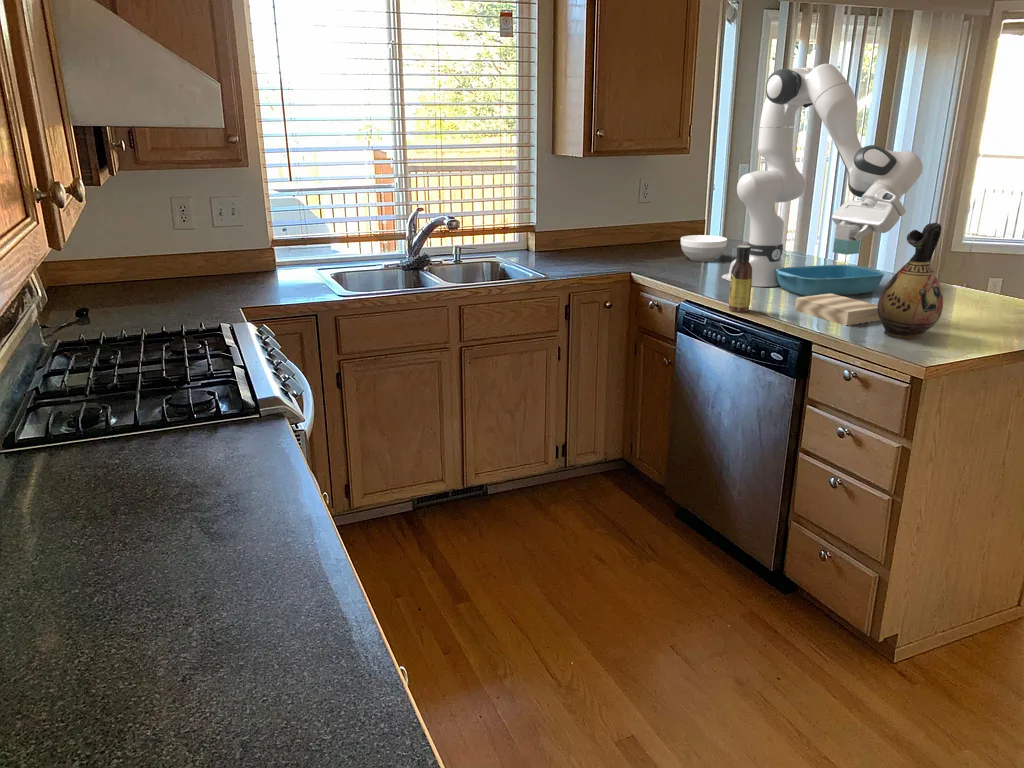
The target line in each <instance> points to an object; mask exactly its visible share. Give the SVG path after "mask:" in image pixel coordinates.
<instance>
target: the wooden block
mask: <svg viewBox="0 0 1024 768" xmlns="http://www.w3.org/2000/svg"><path fill="white" fill-rule="evenodd" d="M877 308H878V304H874V303H870V302H866V301H862V300H859V299H854V298H850V297H846V296H844V295H835V294H831V293H829V294H821V295H814V296H800V297H796V298H795V306H794V311H795V310H796V311H795V312H798V311H799V313H801V312H802V314H805V313H806V314H805V315H808V314H809V316H811V315H812V316H811V317H815V318H818V317H819V318H818V319H821V320H825V319H826V321H829V320H830V322H832V321H833V322H832V323H835V322H837V324H839V323H840V325H842V324H844V325H843V326H846V325H848V326H852V325H853V324H854V325H859V323H861V324H866V323H865V322H867V323H872V322H871V321H873V322H878V321H877V320H880V319H879V316H878V310H877Z"/></svg>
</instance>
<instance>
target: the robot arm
mask: <svg viewBox="0 0 1024 768" xmlns="http://www.w3.org/2000/svg"><path fill="white" fill-rule="evenodd" d="M765 95H766V98H765V100H764V103H763V106H762V109H761V110H762V111H761V114H760V121H759V128H758V129H759V132H758V140H757V141H758V142H757V152H758V154H759V156H761V157H762V158H764V160H765V163H766V166H767V168H766V169H767V170H755V171H751V172H749V173H745V174H743V175H742V176H741V177H740V178H739V180H738V182H737V184H736V193H737V196H738V198H739V200H740V201H741V202H742V203H744V205H745V207H746V209H747V211H748V215H749V223H750V225H749V239H748V240H749V241H748V242H747V243H743V244H742V245H748V246H751V250H750V255H749V263H750V264H751V266H752V284H751V287H765V288H767V287H768V288H769V287H780V284H779V282H778V278H777V273H776V269H778V268H783V266H782V265H783V263H782V255H783V251H784V244H783V238H784V229H785V228H784V227H785V223H784V219H783V218H782V217H780V216H779V215H778V214H777V212H776V207H775V204H777V203H788V202H791V201H794V200H796V199H799V198H800V197H801V196H802V195H803V194H804V191H805V188H806V181H805V177H804V175H803V173H801V172H800V171H799V170H798V168H797V165H796V163H795V158H794V153H793V149H794V148H793V147H794V146H793V145H794V133H795V123H796V114H797V111H798V109H800V107H803V108H805V109H806V108H809V107H811V106H813V107H814V109H815V111H816V113H817V115H818V116H819V117H820V119H821V121H822V123H823V125H824V126H825V128H826V130H827V131H828V133H829V135H830V138H831V139H832V141H833V144H834V145H835V147H836V149H837V152H838V155H839V156H840V159H841V160H842V162H843V165H844V167H845V169H846V172H847V176H848V178H847V181H848V182H847V185H848V189H849V191H850V193H851V194H852V195H854V196H855V197H856V198H853V199H850V200H848V201H847V200H846V201H845V202H844V203H843V204H841V206H839V208H837V209H836V210H835V211H834V212H833V213H832V215H831V220H832V221H833V222H834V223H835V225H836V224H848V223H850V224H857V225H863V227H862V228H863V229H862V230H860V231H859V232H855V233H854V235H852V238H853V240H855V241H859V240H860V239H861V240H862V238H863V237H865V236H867V235H869V234H871V232H874V233H875V232H876V233H881V234H885V233H888V232H889V231H891V230H892V229H893V228H894V226H895V225H896V224H897V223H898V222H899V220H900V218H901V217H902V216H904V215H905V214H906V213H907V211H906V209H905V207H904V205H903V203H902V202H901V198H902V197H903V195H905V194H907V193H908V192H909V191H910V189H911V188H913V186H914V185H915V184H916V183H917V181H918V179H919V178H920V177H921V175H922V174H923V168H924V167H923V166H924V165H923V162H922V160H921V158H920V157H919V156H918V154H916V153H914V152H913V151H910V150H903V151H893V150H889V149H885V148H883V147H882V146H880V145H876V144H874V145H873V144H871V145H866V146H864V147H863V146H862V144H861V142H860V139H859V137H858V131H857V126H858V125H857V122H858V103H857V102H858V101H857V97H856V95H855V93H854V91H853V88H852V87H851V85H850V84H849V82H848V81H847V79H846V78H845V77H844V75H843V74H842V73H841V72H840V70H839V69H838V68H837V67H836V66H835V65H833V64H832V63H823V64H822V63H821V64H819V65H817V66H815V67H814V68H813V67H812V68H811V67H798V68H796V67H795V68H782V69H778V70H776V71H775V70H774V71H773V72H772V73H771V74H770V75H769V76H768V78H767V80H766V83H765ZM857 197H858V198H857ZM735 262H736V258H735V259H734V260H732V262H730V265H729V270H728V273H724V274H723V275H722V276H721V279H723V280H725V281H728V282H730V280H731V271H732V269H733V266H734V264H735Z"/></svg>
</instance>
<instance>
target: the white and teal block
mask: <svg viewBox="0 0 1024 768" xmlns="http://www.w3.org/2000/svg"><path fill="white" fill-rule="evenodd" d="M862 227H863V225H857V224H850V223H848V224H835V231H834V232H835V233H834V241H833V247H832V253H835V254H840V255H847V256H848V255H856V254H857V255H858V254H860V250H861V249H860V248H861V243H862V238H861V239H860V240H859V241H855V240H853V238H852V235H854V233H855V232H859V231H860V230H862V229H863V228H862Z"/></svg>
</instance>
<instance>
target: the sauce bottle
mask: <svg viewBox="0 0 1024 768" xmlns="http://www.w3.org/2000/svg"><path fill="white" fill-rule="evenodd" d="M750 250H751V246H748V245H743V244H740V245H737V246H736V258H735V259H736V262H735V264H734V266H733V269H732V271H731V280H730V281H729V282H730V283H729V294H728V295H729V297H728V309H729V310H730V311H732V312H736V313H745V312H748V311H749V310H750V305H751V294H752V293H751V292H752V286H751V284H752V266H751V264H750V263H749V255H750Z"/></svg>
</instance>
